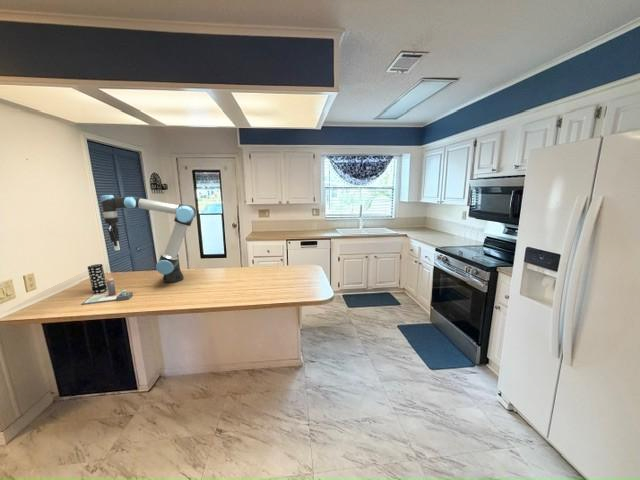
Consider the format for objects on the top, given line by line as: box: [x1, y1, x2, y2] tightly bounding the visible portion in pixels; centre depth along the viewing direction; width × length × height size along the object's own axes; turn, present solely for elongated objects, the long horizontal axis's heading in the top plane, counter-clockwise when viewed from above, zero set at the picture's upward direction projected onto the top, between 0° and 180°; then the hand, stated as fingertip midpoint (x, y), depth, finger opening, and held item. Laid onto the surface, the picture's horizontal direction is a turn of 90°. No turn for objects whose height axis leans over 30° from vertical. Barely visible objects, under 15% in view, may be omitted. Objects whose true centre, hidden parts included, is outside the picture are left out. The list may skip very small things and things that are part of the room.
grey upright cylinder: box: [105, 277, 117, 296], centre depth 187 cm, size 4×4×12 cm
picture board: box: [81, 291, 121, 306], centre depth 185 cm, size 20×15×1 cm
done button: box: [119, 289, 128, 295], centre depth 183 cm, size 4×4×4 cm
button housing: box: [116, 291, 134, 302], centre depth 184 cm, size 7×7×3 cm
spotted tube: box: [87, 263, 108, 295], centre depth 195 cm, size 8×8×20 cm
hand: (117, 250), depth 191 cm, fingers closed
